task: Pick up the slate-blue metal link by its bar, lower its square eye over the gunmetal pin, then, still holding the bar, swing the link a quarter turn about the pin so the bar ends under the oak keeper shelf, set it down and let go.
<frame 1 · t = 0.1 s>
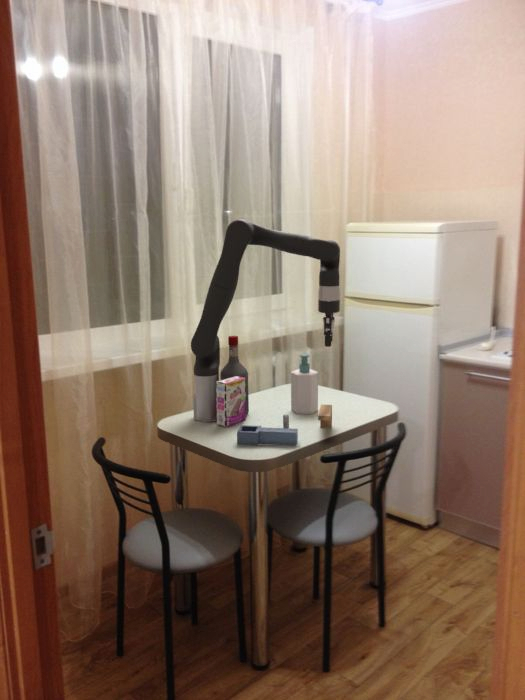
hand: (328, 344, 227), 29 cm above the table, tool pointing down, fingers open, 8 cm apart
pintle: (286, 432, 224), on the table
keeper: (325, 421, 222), on the table
link: (267, 442, 214), on the table
candy bar box: (231, 423, 235), on the table
soap bottle: (304, 410, 248), on the table
liquor: (235, 414, 245), on the table
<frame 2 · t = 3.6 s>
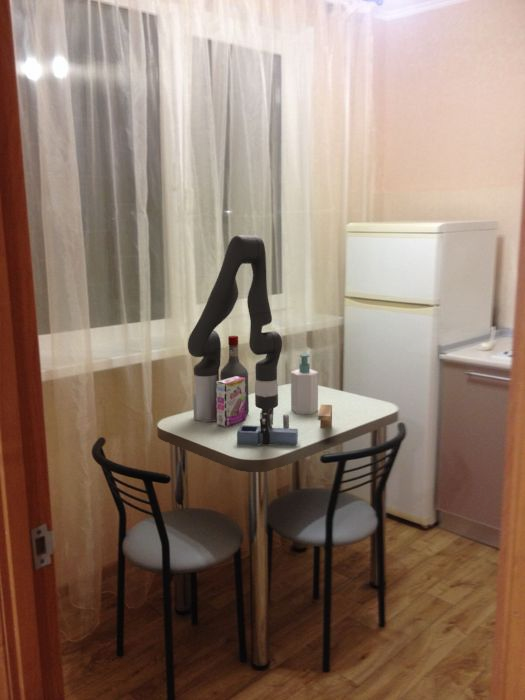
hand: (267, 441, 214), 0 cm above the table, tool pointing down, fingers closed on link, 4 cm apart
link: (267, 442, 214), on the table, touching gripper
everything else where it was.
when the fingers open (0 cm above the table, at t = 11.9 s): link stays where it is, on the table.
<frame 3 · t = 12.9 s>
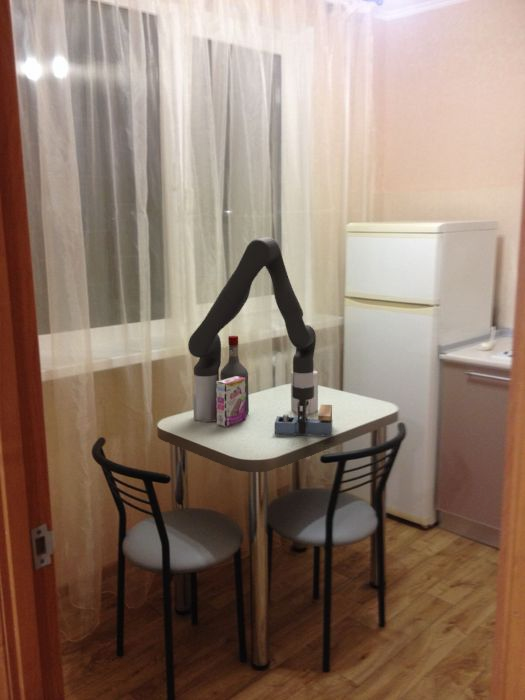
hand: (303, 429, 222), 1 cm above the table, tool pointing down, fingers open, 8 cm apart
link: (303, 432, 223), on the table
everything else where it was.
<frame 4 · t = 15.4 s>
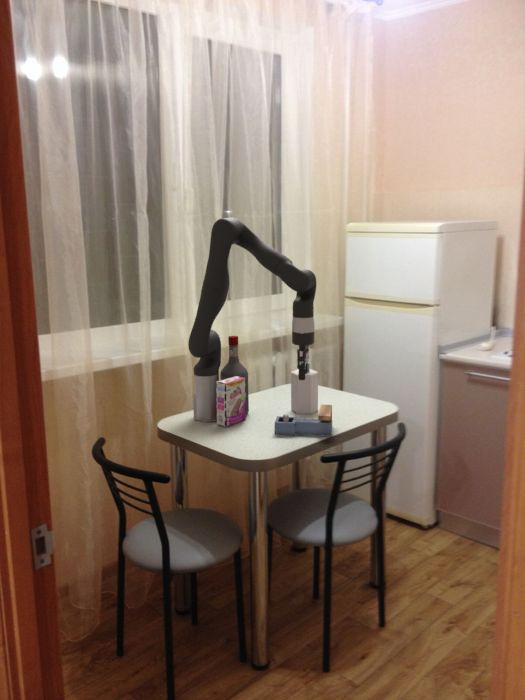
hand: (303, 376, 218), 20 cm above the table, tool pointing down, fingers open, 8 cm apart
nothing on the table moved.
at the end: link 0.3 cm from the target spot on the table beside the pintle, on the table; link touching table; the gripper is holding nothing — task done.
